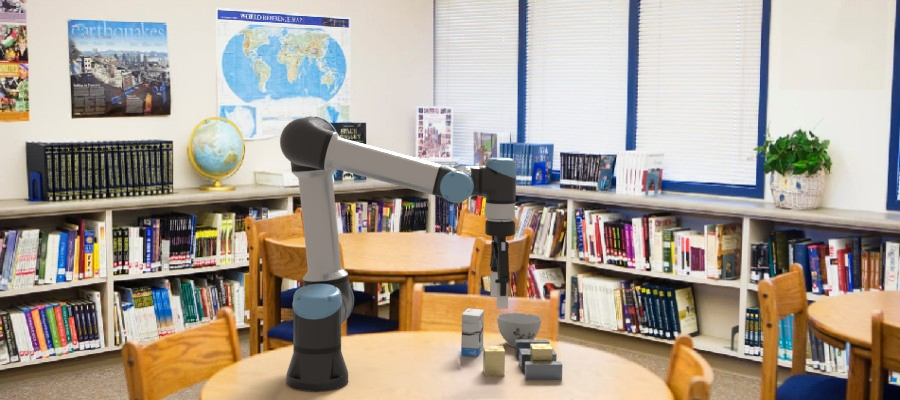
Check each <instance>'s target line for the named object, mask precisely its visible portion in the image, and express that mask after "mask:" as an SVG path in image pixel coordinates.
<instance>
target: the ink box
mask: <svg viewBox="0 0 900 400" xmlns="http://www.w3.org/2000/svg"><path fill="white" fill-rule="evenodd" d="M461 314H462V315H461V341H460V342H461V348H460V349H461V350H460V356H462V357H474V358H476V357H477V358H478V357H479V356H480V355H481V353H483V346H484V323H485V322H484V321H485V320H484V319H485V315H484V314H485V309H478V308H466V309H465V311H463V312H462V313H461Z"/></svg>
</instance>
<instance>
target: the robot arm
mask: <svg viewBox="0 0 900 400" xmlns="http://www.w3.org/2000/svg"><path fill="white" fill-rule="evenodd" d="M279 147H280V149H281V152H282V154H283V156H284V157H285V158H286V159H287V160H288V161H289V162H290V170H291V174H293V175H294V176H295V177H296V178H297V179H298V187H299V196H300V206H301V215H302V217H301V218H302V226H303V235H304V243H305V254H306V256H305V257H306V263H307V271H306V273H305V275H303V277H302V284H303V286H301V287H299V288H298V289H297V290H295V292H294V293H293V299H292V300H293V301H292V304H291V305H292V321H293V322H292V323H293V324H292V325H293V326H292V328H293V330H292V333H293V334H292V335H293V340H292V341H293V344H292V345H293V347H292V348H293V352H292V355H291V357H290V358H291V359H290V362H289V365H288V368H287V370H286V371H287V372H286V375H285V376H286V381H285V382H286V386H287V387H289V388H291V389H294V390H298V391H304V392H325V391H327V392H328V391H332V390H336V389H340V388H343V387H345V386H346V385H348V383H349V371H348V368H347V364H346V362H345V359H344V356H343V351H342V325H343V324H344V322H345V321H347V319H348V318H349V317H350V316H351V314H352V312H353V308H354V305H355V296H354V293H353V290H352V288H351V286H350V281H349V280H350V279H349V273H348V271H347V270H346V269H344V268H343V267H342V260H341V249H340V241H339V240H340V239H339V230H338V221H337V220H338V219H337V210H336V199H335V191H334V180H333V175H334V173H335V172H336V171H337V170H338V171H341V172H346V173H349V174H353V175H357V176H361V177H365V178H368V179H371V180H372V179H373V180H376V181H380V182H383V183H387V184H391V185H395V186H399V187H402V188H406V189H411V190H414V191H417V192H421V193H425V194H428V195H433V196H435V197H439V198H443V199H444V200H446V201H448V202H450V203H453V204H459V203H463V202H464V201H467V200H468V199H469V198H470V197H471V196H479V197H480V196H485V202H484V203H485V205H484V206H485V207H484V208H485V211H484V213H485V214H484V216H485V217H484V218H486V220H485V222H484V223H485V225H484V226H485V227H484V232H485V235H487V236H489V237H491V245H490V246H491V249H490V250H491V251H490V252H491V253H490V264H489V267H490V270H491V271H490V298H496V309H497V310H500V309H501V310H503V309H504V310H507V309H509V283H510V281H511V277H510V262H509V259H510V257H509V246H510V245H509V242H508V241H507V237H512V236H515V233H516V221H515V220H514V219H515V218H516V211H517V210H518V208H519V207H518V206H516V195H517V193H516V192H517V162H516V161H515V159H513V158H511V157H489V158H487V159H486V160H485V164H484V165H463V164H461V165H460V164H459V165H457V164H450V165H449V164H448V165H446V164H445V165H443V164H439V163H435V162H432V161H429V160H424V159H421V158H418V157H413V156H410V155H405V154H403V153H399V152H395V151H392V150H388V149H384V148H380V147H376V146H373V145H370V144H365V143H361V142H358V141H354V140H350V139H346V138H344V137H341V136H340V135H339V133H338V132H337V130H336V127H334V126H333V125H332V123H331V122H329V121H328V120H326V119H324V118H322V117H320V116H306V117H302V118H297V119H294V120H291V121H290V122H289V123H288V124H286V126H284V128H283V130H282V132H281V133H280V139H279Z"/></svg>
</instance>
